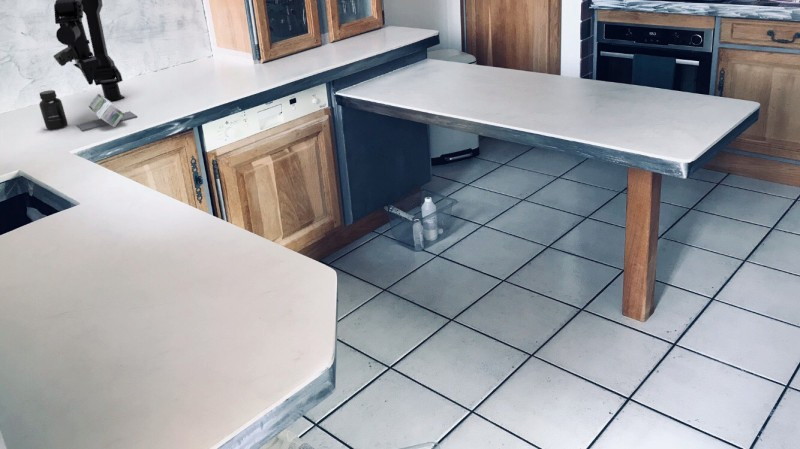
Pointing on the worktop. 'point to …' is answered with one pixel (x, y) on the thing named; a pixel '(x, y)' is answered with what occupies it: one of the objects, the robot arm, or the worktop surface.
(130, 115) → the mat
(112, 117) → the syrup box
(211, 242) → the worktop surface
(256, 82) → the worktop surface
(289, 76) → the worktop surface
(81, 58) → the robot arm
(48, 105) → the supplement bottle
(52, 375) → the worktop surface
